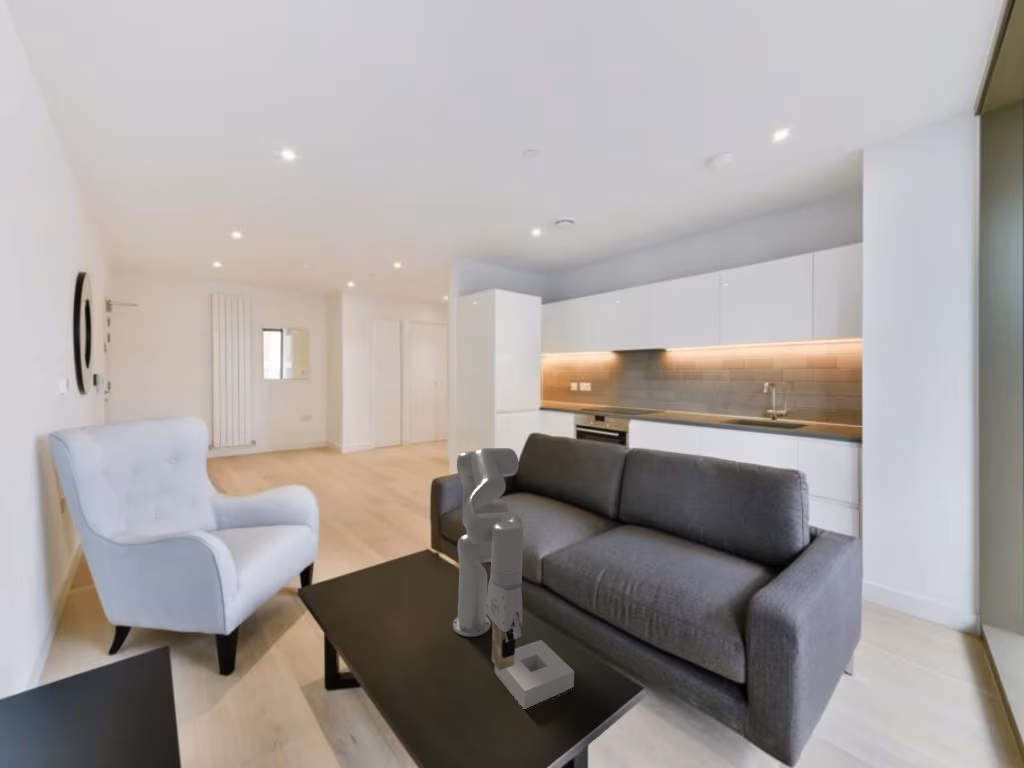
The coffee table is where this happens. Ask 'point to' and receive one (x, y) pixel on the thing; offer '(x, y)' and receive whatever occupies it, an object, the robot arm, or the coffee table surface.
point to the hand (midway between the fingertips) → (503, 649)
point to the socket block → (536, 674)
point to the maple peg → (500, 649)
